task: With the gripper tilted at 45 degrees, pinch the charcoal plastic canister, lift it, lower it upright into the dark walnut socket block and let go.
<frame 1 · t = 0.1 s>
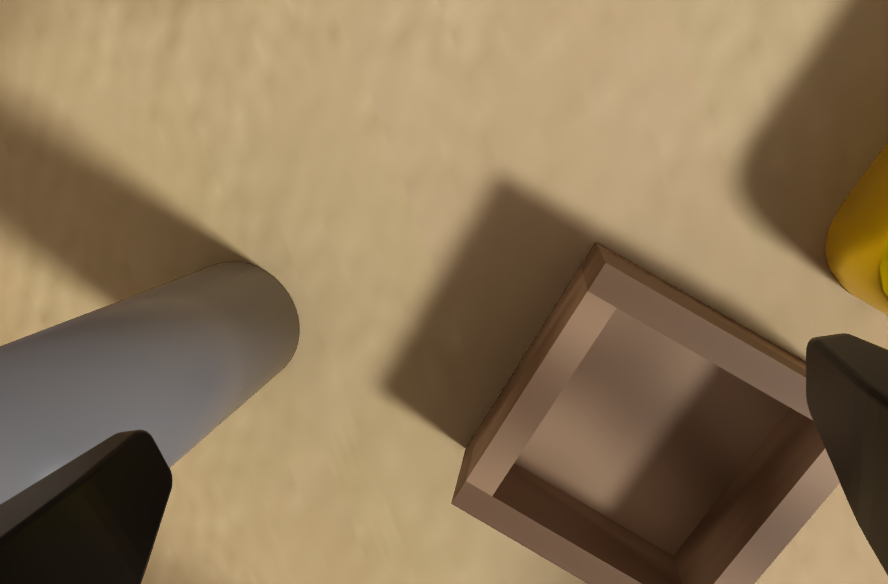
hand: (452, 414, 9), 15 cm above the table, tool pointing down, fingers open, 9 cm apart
charcoal canister: (239, 323, 26), on the table
walnut socket: (638, 415, 24), on the table
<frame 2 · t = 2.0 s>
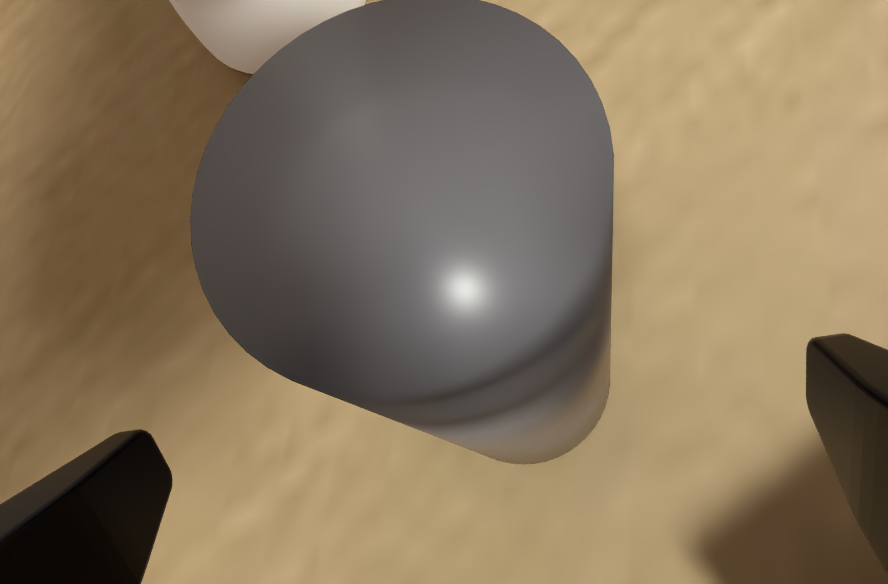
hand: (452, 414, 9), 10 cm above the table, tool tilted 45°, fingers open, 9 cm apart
charcoal canister: (521, 375, 19), on the table
water bottle: (292, 9, 26), on the table
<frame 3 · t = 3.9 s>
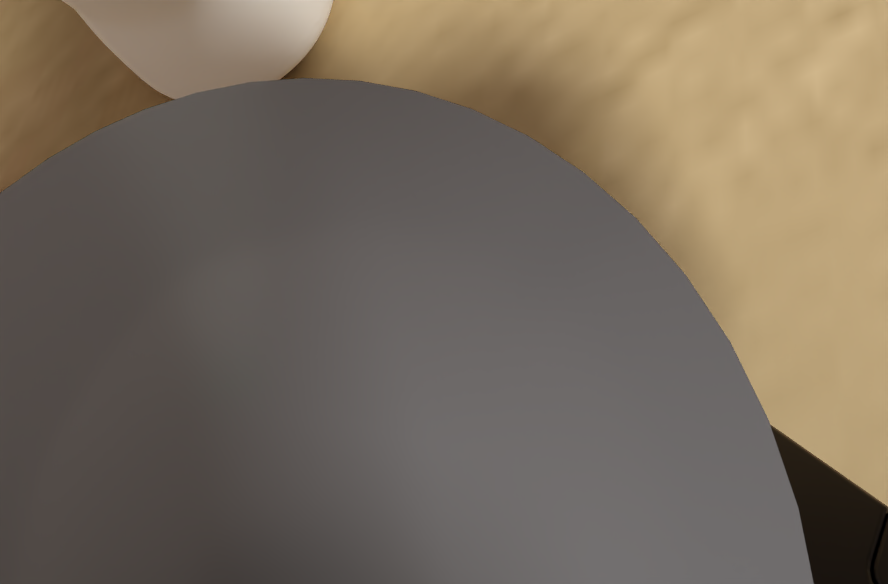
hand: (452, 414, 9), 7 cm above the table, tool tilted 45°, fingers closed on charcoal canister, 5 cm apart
charcoal canister: (523, 511, 14), on the table, touching gripper
water bottle: (242, 21, 21), on the table
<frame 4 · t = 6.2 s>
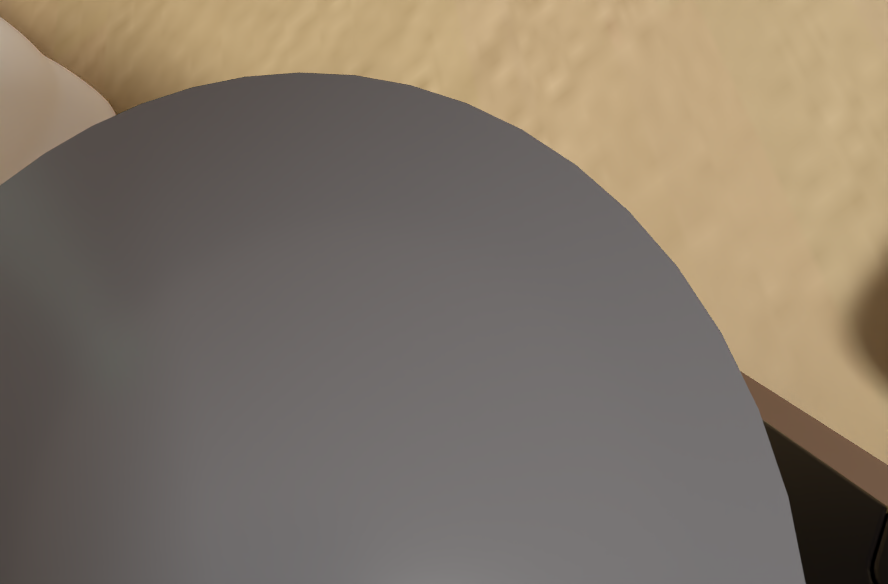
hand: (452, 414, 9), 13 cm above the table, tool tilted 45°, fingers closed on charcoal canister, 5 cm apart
charcoal canister: (522, 510, 14), point 7 cm above the table, touching gripper
water bottle: (64, 163, 30), on the table
when the fingers open (9 cm above the table, at t = 8.3 s): charcoal canister drops 1 cm, resting on walnut socket.
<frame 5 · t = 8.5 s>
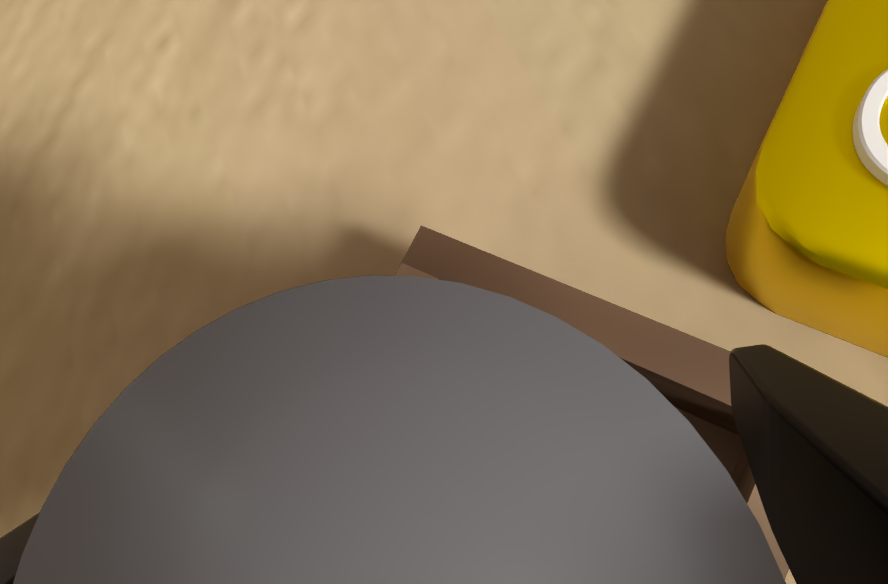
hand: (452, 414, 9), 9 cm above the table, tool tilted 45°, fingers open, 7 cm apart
charcoal canister: (531, 512, 16), point 1 cm above the table, touching walnut socket
walnut socket: (535, 509, 17), on the table
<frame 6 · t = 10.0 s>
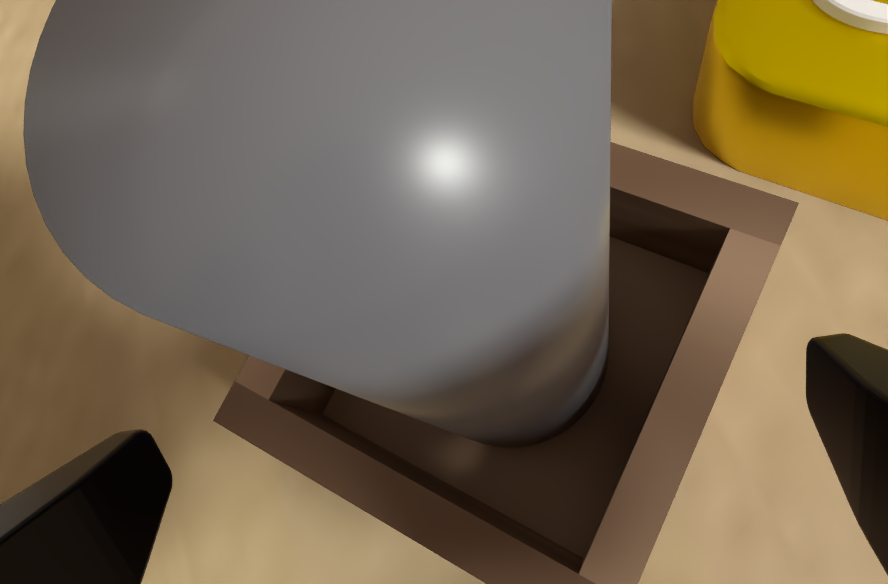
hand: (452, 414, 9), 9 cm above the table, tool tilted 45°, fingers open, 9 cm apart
charcoal canister: (508, 348, 17), point 1 cm above the table, touching walnut socket
walnut socket: (513, 353, 18), on the table
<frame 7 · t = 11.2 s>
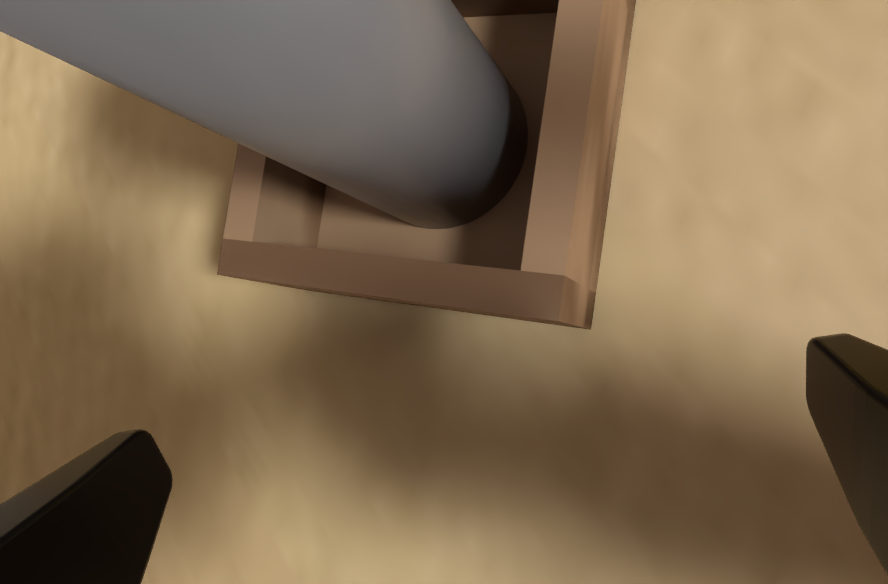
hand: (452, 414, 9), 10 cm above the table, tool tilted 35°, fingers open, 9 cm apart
charcoal canister: (443, 144, 19), point 1 cm above the table, touching walnut socket
walnut socket: (455, 153, 20), on the table
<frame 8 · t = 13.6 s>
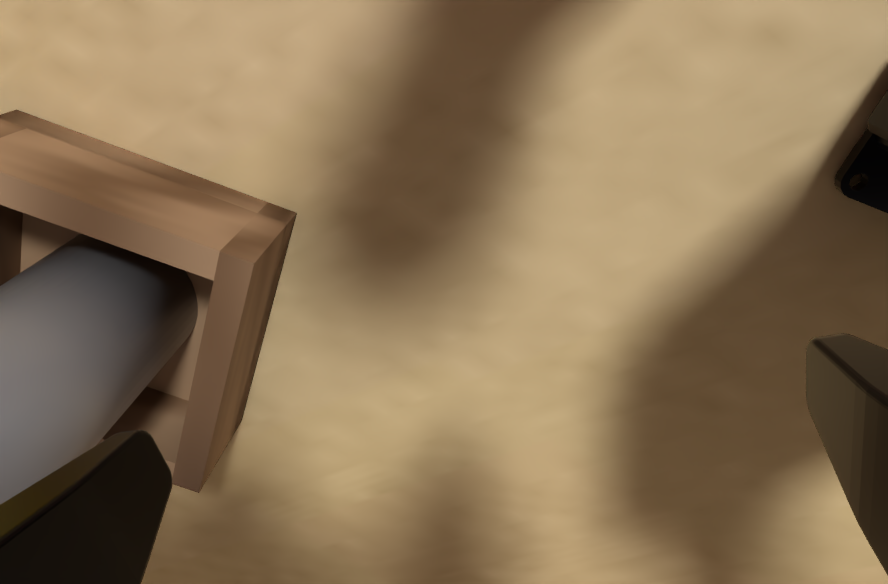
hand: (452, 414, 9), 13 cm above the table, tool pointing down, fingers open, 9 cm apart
charcoal canister: (127, 294, 23), point 1 cm above the table, touching walnut socket
walnut socket: (141, 281, 24), on the table
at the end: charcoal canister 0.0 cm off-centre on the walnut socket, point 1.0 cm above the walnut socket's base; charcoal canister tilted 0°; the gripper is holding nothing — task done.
